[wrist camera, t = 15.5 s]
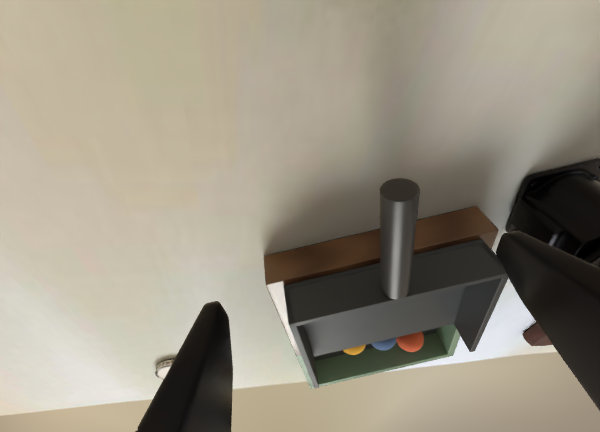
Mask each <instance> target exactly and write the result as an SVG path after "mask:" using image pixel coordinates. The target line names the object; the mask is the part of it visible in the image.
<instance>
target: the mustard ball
mask: <svg viewBox="0 0 600 432" xmlns="http://www.w3.org/2000/svg"><path fill="white" fill-rule="evenodd" d="M365 346H366V345H362V346H358V347H353V348H349V349H345V350H343V351H344V352H345V353H347V354H350V355H356V354H359V353H361V352H362V351H363V350H364V348H365Z"/></svg>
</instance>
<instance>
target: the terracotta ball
mask: <svg viewBox="0 0 600 432" xmlns="http://www.w3.org/2000/svg"><path fill="white" fill-rule="evenodd" d="M396 341H397V343H398V345H399V346H400V347H401V348H402V349H403V350H405V351H408V352H415V351H417V350H419V349H420V348H421V347H422V345H423V343H424V336H423V333H422V331H421V332H417V333H413V334H409V335H404V336H400V337H397V340H396Z"/></svg>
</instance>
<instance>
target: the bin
mask: <svg viewBox="0 0 600 432" xmlns="http://www.w3.org/2000/svg"><path fill="white" fill-rule="evenodd" d="M422 333H423V336H424V343H423V345H422V347H421V348H420V349H419V350H417V351H415V352H408V351H405V350H403V349H402V348H401V347H400V346H399V345H398V343H397V341H396V343H395V345H394V346H393V347H392V348H391V349H389V350H378V349H376V348H375V347H374V346H373V345H372V344H371V343H370V344H366V346H365V348H364V350H363V351H362V352H361V353H359V354H356V355H350V354H347V353H345V352H344V351H343V350H341V351H336V352H332V353H328V354H323V355H319V356H315V357H314V361H315V366H316V372H317V377H318V383H319V387H321V386H325V385H329V384H333V383H338V382H342V381H346V380H350V379H355V378H359V377H363V376H367V375H372V374H376V373H380V372H385V371H389V370H393V369H397V368H402V367H406V366H410V365H415V364H419V363H423V362H427V361H432V360H436V359H440V358H444V357H449V356H453V354H454V351H455V348H456V346H457V343H458V340H459V337H460V334H459V332H458V330H457V329H456V327H455V325H454V324H451V325H447V326H443V327H438V328H434V329H430V330H426V331H422ZM296 356H297V355H296ZM297 358H298V361H299V363H300V365H301V368H302V370H303V372H304V374H305V377H306V379H307V381H308V383H309V386H310V388H311V389H312V388H314V386H313V384H312V381H311V379H310V376H309V374H308V371H307V369H306V366H305V364H304V361H303V359H302V356H301V355H298V356H297Z"/></svg>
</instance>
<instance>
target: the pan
mask: <svg viewBox="0 0 600 432" xmlns="http://www.w3.org/2000/svg"><path fill="white" fill-rule="evenodd" d="M419 194H420V188H419V186H418V185H417V184H416V183H415V182H413V181H411V180H408V179H403V178H397V179H391V180H389V181H386V182H385V183H384V184H383V185H382V186H381V188H380V263H376V264H372V265H368V266H364V267H360V268H355V269H351V270H347V271H343V272H338V273H334V274H330V275H326V276H321V277H317V278H313V279H309V280H304V281H300V282H296V283H292V284H287V285H284V294H285V301H286V309H287V316H288V324H289V327H290V329H291V332H292V334H293V337H294V339H295V341H296V344H297V346H298V349H299V351H300V354H301V356H302V359H303V361H304V364H305V366H306V369H307V371H308V374H309V376H310V379H311V381H312V384H313V386H314V388H319V383H318V377H317V372H316V366H315V361H314V357H315V356H319V355H323V354H328V353H332V352H336V351H341V350H345V349H349V348H353V347H358V346H362V345H366V344H370V343H375V342H379V341H383V340H387V339H392V338H396V337H400V336H404V335H409V334H413V333H417V332H421V331H426V330H430V329H434V328H438V327H443V326H447V325H451V324H454V325H455V327H456V329H457V330H458V332H459V334H460V336H461V337H462V339H463V341H464V342H465V344H466V346H467V348H468V349H469V351H470V352H472V351H475V349H476V347H477V345H478V343H479V341H480V338H481V336H482V334H483V332H484V330H485V327H486V325H487V323H488V321H489V319H490V317H491V314H492V312H493V310H494V308H495V306H496V303H497V301H498V299H499V297H500V295H501V293H502V290H503V288H504V286H505V284H506V282H507V279H508V276H507V274H506V272H505V270H504V268H503V267H502V265H501V263H500V261H499V260H498V257H497V256H496V254H495V253H494V252H493V251H492V250H491V249H490V248H489V246H488V245H487V244H486V243H485V242H484V241H483V239H478V240H474V241H470V242H465V243H461V244H457V245H453V246H449V247H444V248H440V249H436V250H432V251H427V252H423V253H419V254H415V255H413V251H414V242H415V232H416V223H417V213H418V204H419Z"/></svg>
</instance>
